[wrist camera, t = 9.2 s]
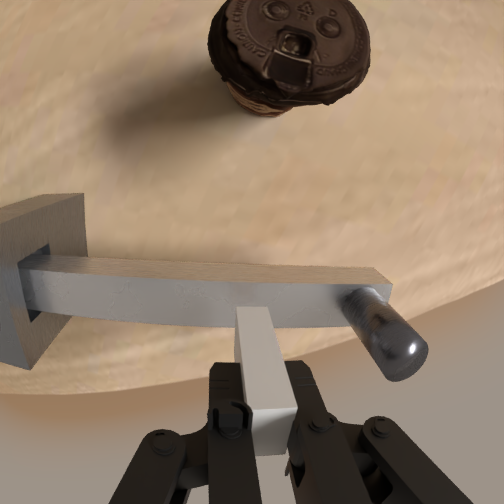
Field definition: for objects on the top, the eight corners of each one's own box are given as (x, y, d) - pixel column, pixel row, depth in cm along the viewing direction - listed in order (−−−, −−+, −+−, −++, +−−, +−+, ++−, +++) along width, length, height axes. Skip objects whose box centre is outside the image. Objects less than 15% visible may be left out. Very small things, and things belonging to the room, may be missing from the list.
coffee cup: (252, 149, 25) (278, 142, 12) (194, 76, 22) (168, 11, 10) (331, 97, 24) (411, 60, 11) (275, 27, 21) (313, -54, 9)
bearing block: (53, 288, 27) (-15, 356, 15) (42, 194, 24) (-49, 226, 12) (92, 292, 27) (30, 370, 15) (83, 193, 24) (-6, 226, 12)
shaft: (33, 289, 19) (-33, 350, 11) (26, 253, 18) (-49, 304, 10) (365, 304, 22) (426, 378, 13) (373, 267, 21) (446, 331, 12)
